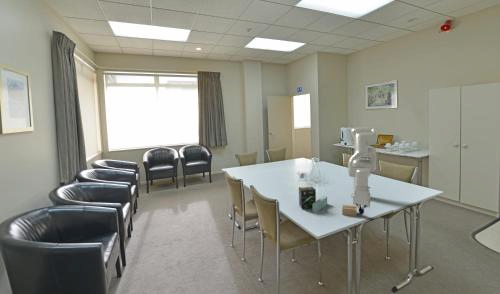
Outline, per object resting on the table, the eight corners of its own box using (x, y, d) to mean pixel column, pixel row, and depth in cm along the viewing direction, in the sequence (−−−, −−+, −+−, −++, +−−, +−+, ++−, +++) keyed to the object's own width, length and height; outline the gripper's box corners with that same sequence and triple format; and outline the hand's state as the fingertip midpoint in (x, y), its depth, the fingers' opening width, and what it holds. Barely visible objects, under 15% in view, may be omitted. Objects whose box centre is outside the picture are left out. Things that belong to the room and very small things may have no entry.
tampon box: (312, 204, 189) (312, 186, 188) (316, 208, 180) (316, 189, 178) (298, 204, 189) (298, 186, 187) (301, 209, 180) (301, 190, 178)
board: (323, 203, 190) (323, 196, 189) (327, 204, 188) (327, 196, 187) (312, 211, 175) (312, 203, 174) (316, 212, 173) (316, 204, 172)
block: (342, 211, 174) (342, 204, 173) (356, 212, 170) (356, 205, 170) (342, 214, 168) (342, 208, 167) (356, 216, 164) (356, 209, 163)
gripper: (375, 187, 160) (374, 214, 162) (351, 184, 169) (351, 209, 171) (372, 190, 154) (372, 218, 156) (348, 187, 163) (348, 213, 166)
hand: (361, 213), depth 164 cm, fingers closed
